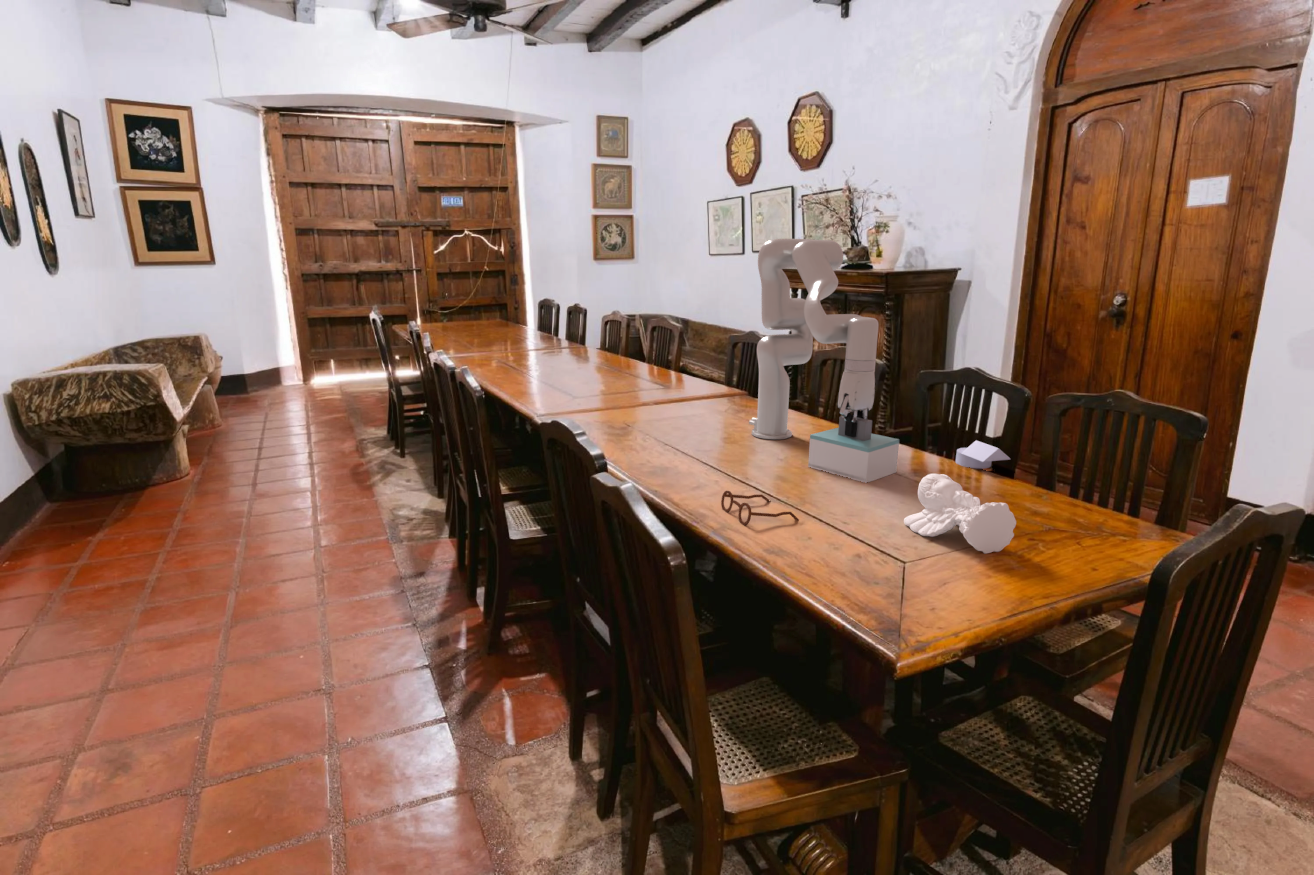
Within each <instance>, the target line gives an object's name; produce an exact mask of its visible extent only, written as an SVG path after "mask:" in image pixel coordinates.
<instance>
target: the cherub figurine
mask: <svg viewBox="0 0 1314 875" xmlns="http://www.w3.org/2000/svg"><path fill="white" fill-rule="evenodd" d="M917 488H918V489H917V497H918V501H919V503H920V504H921V505H922V506H923V507H924V509H922V511H920V512H917V513H913V514H910V515H909V514H908V515H907V516H906V517H904V519H903V524H904V525H906V526H907V527H909V528H910V530H911V532H912V531H913V533H916V534H919V536H920V535H921V536H922V537H937V536H939V535H942V534H945V533H947V532H948V531H951V530H952V529H953V528H955V527H956V526H958V527H959V528H958V529H959V532H960V533H961V534H962V535H963V537H964V539H965V540H966V542H967V543H968V544H969V545H970V546H972V547H973V548H974V549H975V550H976V551H978V552H982V553H983V554H990V553H992V552H996V553H999V552H1001V551H1003V549H1004V548H1005V547H1007V546H1009V545H1010V543H1011V541H1012V539H1013V538H1014V537H1015V533H1014V529H1015V528H1016V525H1017V520H1016V518H1015V515H1014V513H1013V512H1012V511H1011V510H1010V507H1009V505H1008V503H1006V502H996V501H994V502H993V501H992V502H985V503H983V504H981V500H980V497H977V496H974V495H973V494H972V493H970V492H968V491H965V490H964V489H963V486H962V485H961V484H960V483H959V482H956V481H954V480H953V479H952V478H951V477H950V476H949V475H947V474H944V473H942V474H941V473H928V474H927V475H925V476H923V477H922V478H921V480H920V482H919V484H918V487H917Z"/></svg>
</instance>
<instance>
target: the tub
mask: <svg viewBox="0 0 1314 875" xmlns="http://www.w3.org/2000/svg"><path fill="white" fill-rule="evenodd" d="M899 448H900V442H899V443H898V444H895V445H891V446H888V447H885V448H882V449H878V450H875V451H872V452H864V451H860V450H856V449H852V448H848V447H844V446H840V445H836V444H831V443H827V442H823V441H819V440H815V439H811V438H810V437H809V448H808V449H809V450H808V464H807V467H808V468H810V467H811V469H813V470H818V471H821V470H823V471H822V472H825V471H826V473H828V472H829V473H828V474H833V475H835V474H837V475H836V476H839V475H840V476H839V477H842V476H843V477H842V478H846V477H848V478H847V479H850V478H851V479H850V480H854V481H856V482H860V481H861V483H864V482H865V483H864V484H867V482H868V483H870V482H872V481H876V480H879V479H881V478H882V479H883V478H884V477H888V476H890V475H892V474H896V473H897V471H898V470H897V467H898V460H899V459H898V457H899Z"/></svg>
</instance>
